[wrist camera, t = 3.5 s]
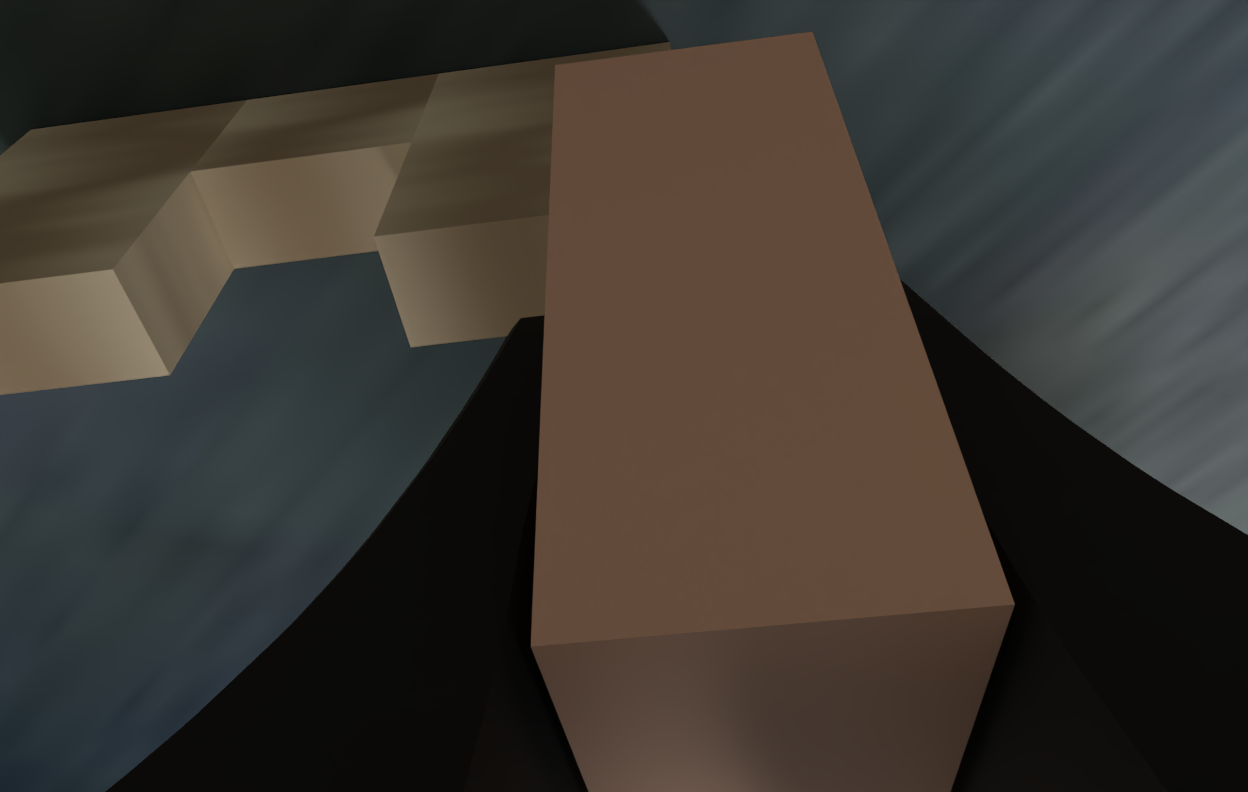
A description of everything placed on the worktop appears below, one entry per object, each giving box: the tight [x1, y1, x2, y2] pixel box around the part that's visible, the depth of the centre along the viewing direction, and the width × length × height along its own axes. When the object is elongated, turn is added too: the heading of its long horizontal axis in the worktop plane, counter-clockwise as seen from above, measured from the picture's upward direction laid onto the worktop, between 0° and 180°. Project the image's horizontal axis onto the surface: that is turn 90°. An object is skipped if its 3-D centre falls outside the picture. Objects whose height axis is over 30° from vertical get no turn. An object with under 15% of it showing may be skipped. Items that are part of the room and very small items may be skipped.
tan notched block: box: [0, 42, 671, 395], centre depth 15 cm, size 12×2×6 cm, turn 98°
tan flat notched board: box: [531, 32, 1015, 792], centre depth 11 cm, size 12×2×6 cm, turn 7°
